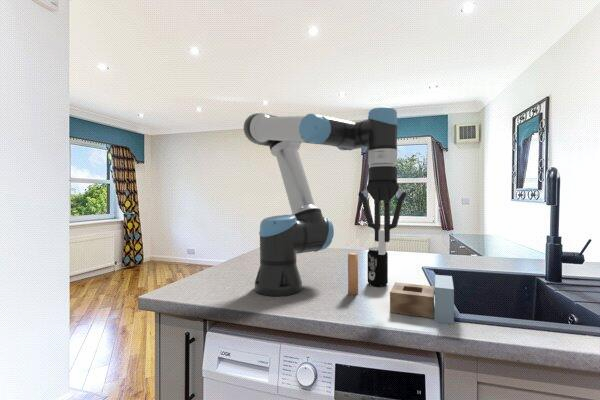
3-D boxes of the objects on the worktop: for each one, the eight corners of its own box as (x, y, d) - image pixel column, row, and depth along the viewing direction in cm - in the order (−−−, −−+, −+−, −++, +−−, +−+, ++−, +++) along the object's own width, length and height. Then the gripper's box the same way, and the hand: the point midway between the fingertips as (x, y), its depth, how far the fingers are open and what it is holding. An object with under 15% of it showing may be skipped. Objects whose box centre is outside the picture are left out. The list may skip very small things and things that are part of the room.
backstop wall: (434, 321, 72) (434, 287, 72) (435, 304, 84) (435, 274, 84) (454, 324, 71) (453, 289, 71) (452, 306, 83) (451, 276, 83)
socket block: (390, 311, 78) (389, 292, 78) (395, 300, 87) (395, 282, 87) (433, 318, 74) (433, 297, 74) (434, 304, 83) (433, 286, 83)
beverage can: (388, 287, 100) (388, 250, 100) (367, 286, 101) (367, 250, 101) (387, 282, 107) (386, 247, 106) (367, 281, 108) (367, 246, 108)
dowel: (346, 294, 93) (346, 254, 93) (349, 291, 96) (349, 252, 96) (356, 295, 92) (356, 255, 92) (359, 292, 95) (358, 253, 95)
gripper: (355, 166, 83) (355, 254, 83) (406, 164, 77) (406, 258, 78) (361, 168, 90) (361, 249, 90) (409, 166, 84) (408, 253, 85)
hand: (382, 253), depth 84 cm, fingers closed
